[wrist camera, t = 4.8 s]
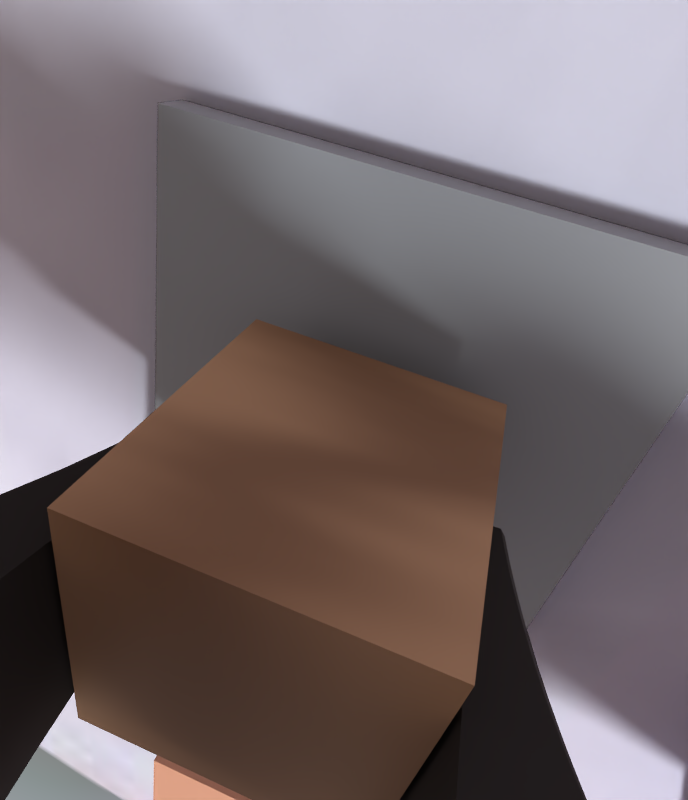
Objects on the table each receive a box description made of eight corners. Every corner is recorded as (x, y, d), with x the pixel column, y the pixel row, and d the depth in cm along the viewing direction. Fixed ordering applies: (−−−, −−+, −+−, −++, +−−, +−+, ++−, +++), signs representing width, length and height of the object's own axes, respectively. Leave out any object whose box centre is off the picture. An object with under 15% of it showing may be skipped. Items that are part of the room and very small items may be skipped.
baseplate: (749, 262, 9) (765, 279, 8) (513, 623, 14) (511, 650, 14) (182, 99, 10) (157, 102, 9) (170, 488, 16) (154, 506, 15)
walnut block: (507, 404, 9) (474, 685, 5) (427, 575, 12) (364, 852, 8) (256, 318, 10) (46, 507, 6) (233, 498, 12) (78, 717, 8)
